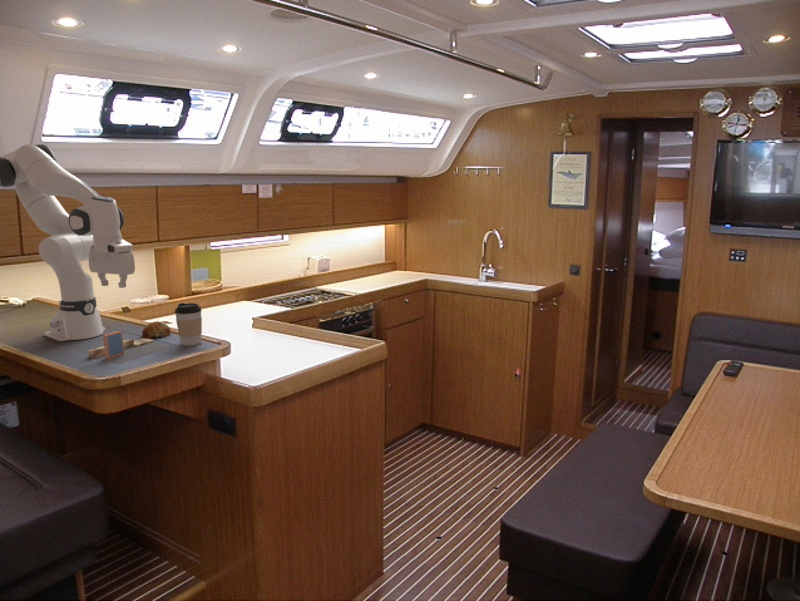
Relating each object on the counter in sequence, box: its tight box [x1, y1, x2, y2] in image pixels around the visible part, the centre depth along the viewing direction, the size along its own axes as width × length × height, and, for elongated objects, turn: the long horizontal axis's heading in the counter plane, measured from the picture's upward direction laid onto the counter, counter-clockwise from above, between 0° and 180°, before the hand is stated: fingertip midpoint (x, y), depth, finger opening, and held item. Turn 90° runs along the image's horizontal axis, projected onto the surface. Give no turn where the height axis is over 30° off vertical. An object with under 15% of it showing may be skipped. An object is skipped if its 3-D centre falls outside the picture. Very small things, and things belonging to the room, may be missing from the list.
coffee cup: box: [174, 302, 203, 348], centre depth 227 cm, size 9×9×15 cm
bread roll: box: [141, 321, 172, 340], centre depth 240 cm, size 10×10×8 cm
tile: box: [102, 330, 124, 359], centre depth 213 cm, size 2×6×8 cm, turn 151°
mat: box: [93, 341, 177, 365], centre depth 219 cm, size 16×23×1 cm
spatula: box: [87, 337, 155, 359], centre depth 222 cm, size 23×6×2 cm, turn 151°
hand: (113, 286), depth 218 cm, fingers open, 8 cm apart
